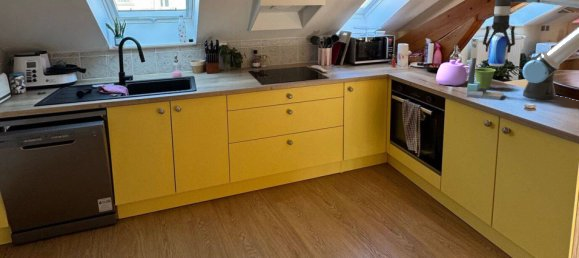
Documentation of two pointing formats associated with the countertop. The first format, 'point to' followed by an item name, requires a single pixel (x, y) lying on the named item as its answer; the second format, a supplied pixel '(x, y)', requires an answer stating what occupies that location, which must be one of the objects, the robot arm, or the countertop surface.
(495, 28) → the robot arm
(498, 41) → the beer can
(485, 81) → the plant pot
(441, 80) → the teapot
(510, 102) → the countertop surface
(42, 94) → the countertop surface
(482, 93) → the press frame
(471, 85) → the press ram
